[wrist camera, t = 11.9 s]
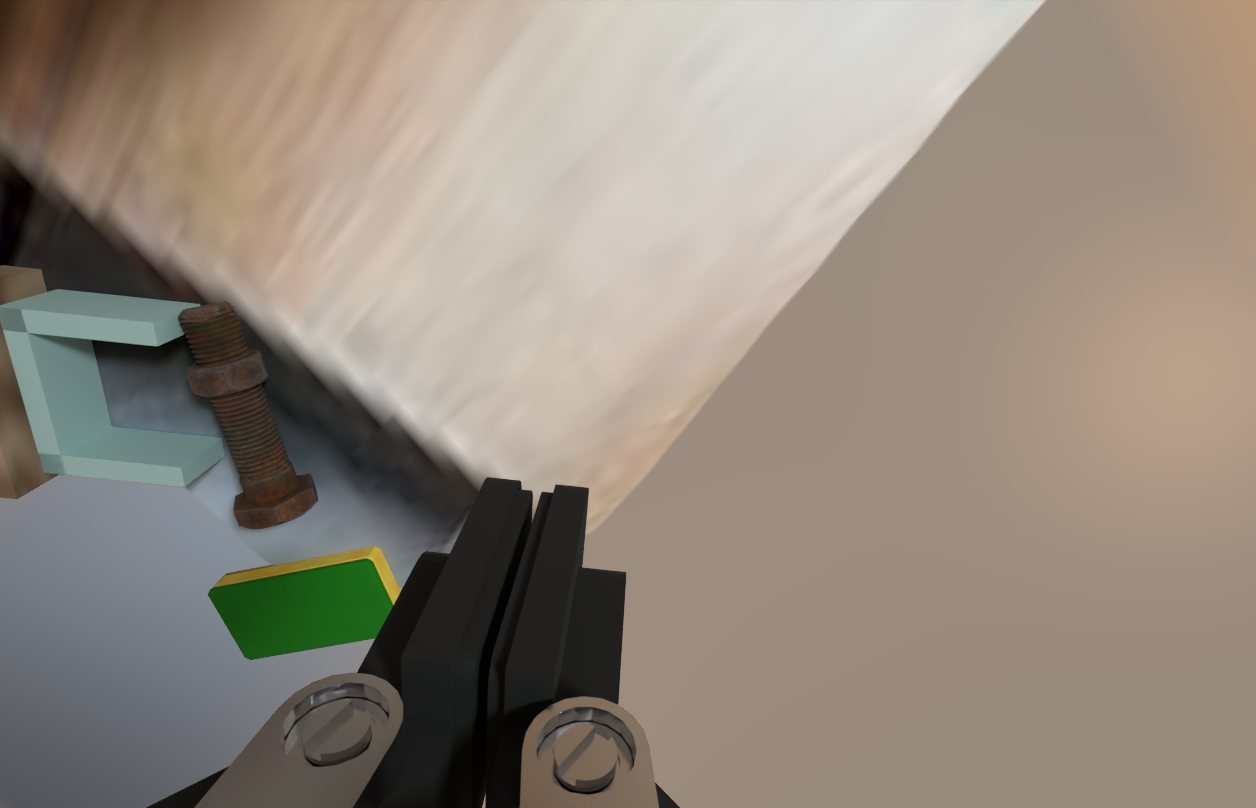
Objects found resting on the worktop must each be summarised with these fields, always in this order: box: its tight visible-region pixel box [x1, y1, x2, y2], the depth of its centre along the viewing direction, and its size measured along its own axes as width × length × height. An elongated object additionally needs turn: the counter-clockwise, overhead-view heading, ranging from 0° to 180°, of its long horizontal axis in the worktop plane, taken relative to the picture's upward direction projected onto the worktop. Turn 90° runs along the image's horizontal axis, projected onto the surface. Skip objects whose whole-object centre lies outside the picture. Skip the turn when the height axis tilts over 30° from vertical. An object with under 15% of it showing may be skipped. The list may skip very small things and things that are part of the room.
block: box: [0, 289, 225, 487], centre depth 44 cm, size 12×10×4 cm
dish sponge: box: [208, 547, 401, 660], centre depth 53 cm, size 7×14×2 cm, turn 104°
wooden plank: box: [0, 265, 59, 499], centre depth 44 cm, size 14×2×6 cm, turn 174°
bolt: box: [178, 302, 318, 529], centre depth 45 cm, size 6×5×15 cm
